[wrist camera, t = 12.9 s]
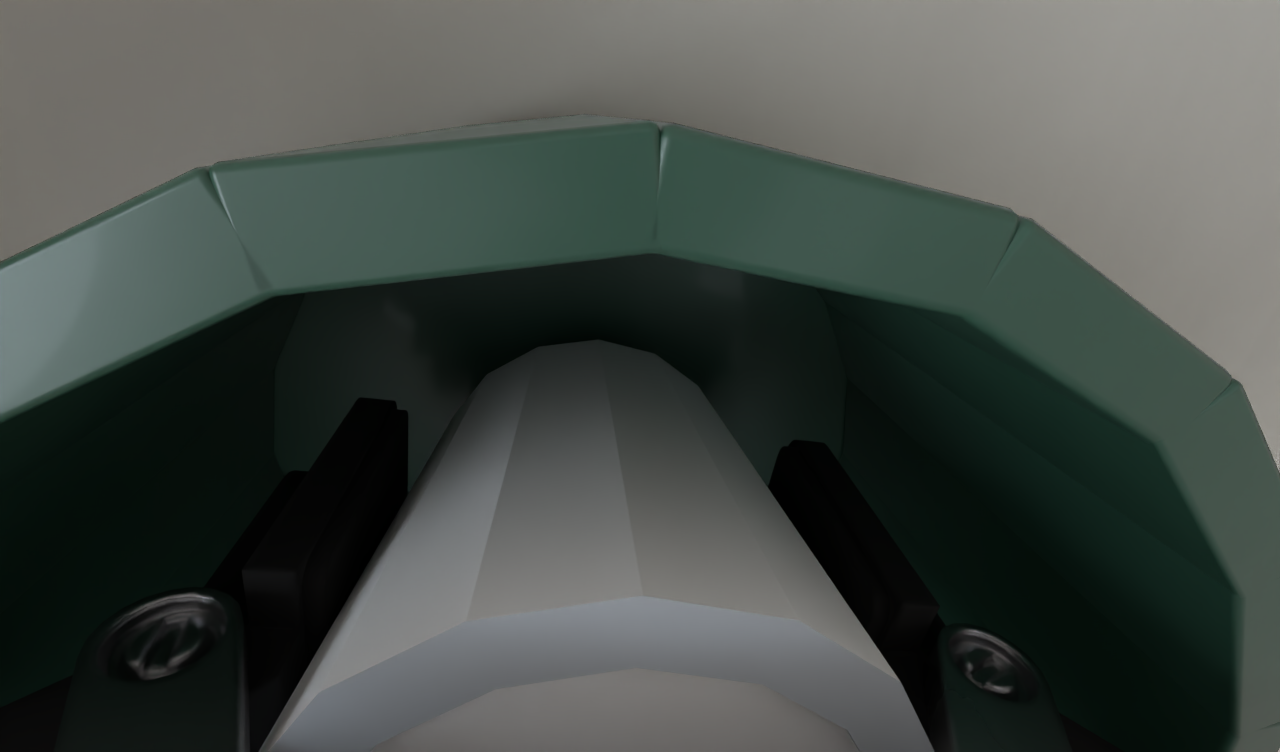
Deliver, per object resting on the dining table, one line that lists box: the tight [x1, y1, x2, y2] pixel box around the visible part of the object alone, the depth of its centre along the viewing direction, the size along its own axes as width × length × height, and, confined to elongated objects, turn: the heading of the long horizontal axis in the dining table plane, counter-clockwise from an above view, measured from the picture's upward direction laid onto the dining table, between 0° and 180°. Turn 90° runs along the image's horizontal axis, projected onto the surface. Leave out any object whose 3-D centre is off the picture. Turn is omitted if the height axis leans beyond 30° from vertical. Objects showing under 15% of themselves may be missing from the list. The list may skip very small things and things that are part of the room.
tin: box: [0, 114, 1280, 752], centre depth 10 cm, size 14×14×10 cm
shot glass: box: [259, 339, 935, 752], centre depth 9 cm, size 7×7×7 cm
